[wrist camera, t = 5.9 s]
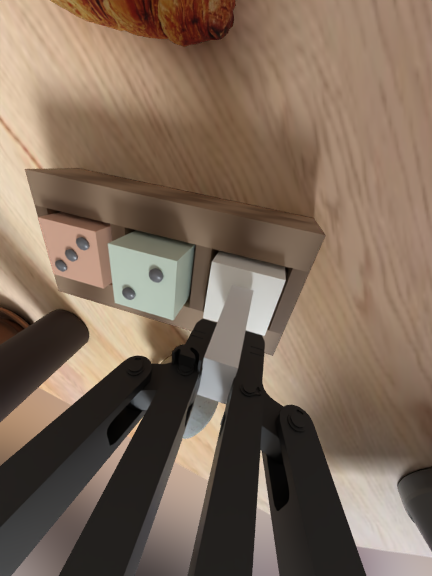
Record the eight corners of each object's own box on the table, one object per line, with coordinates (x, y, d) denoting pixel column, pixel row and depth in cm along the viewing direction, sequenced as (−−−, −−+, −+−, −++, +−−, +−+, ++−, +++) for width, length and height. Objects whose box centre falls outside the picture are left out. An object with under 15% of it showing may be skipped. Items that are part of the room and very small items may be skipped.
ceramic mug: (186, 342, 28) (159, 393, 22) (225, 380, 30) (210, 436, 24) (145, 366, 33) (114, 412, 27) (180, 397, 35) (158, 446, 29)
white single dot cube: (284, 260, 17) (285, 281, 14) (266, 310, 19) (264, 337, 16) (223, 245, 17) (211, 262, 14) (214, 295, 20) (202, 319, 17)
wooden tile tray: (314, 218, 17) (325, 235, 13) (273, 321, 23) (272, 355, 19) (77, 168, 20) (24, 169, 16) (94, 270, 26) (58, 290, 22)
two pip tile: (195, 244, 17) (175, 262, 14) (189, 296, 19) (172, 321, 16) (136, 230, 17) (105, 244, 14) (138, 282, 20) (113, 304, 17)
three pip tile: (124, 221, 19) (93, 232, 16) (127, 271, 21) (101, 289, 18) (74, 209, 19) (35, 217, 16) (83, 259, 22) (51, 274, 19)
